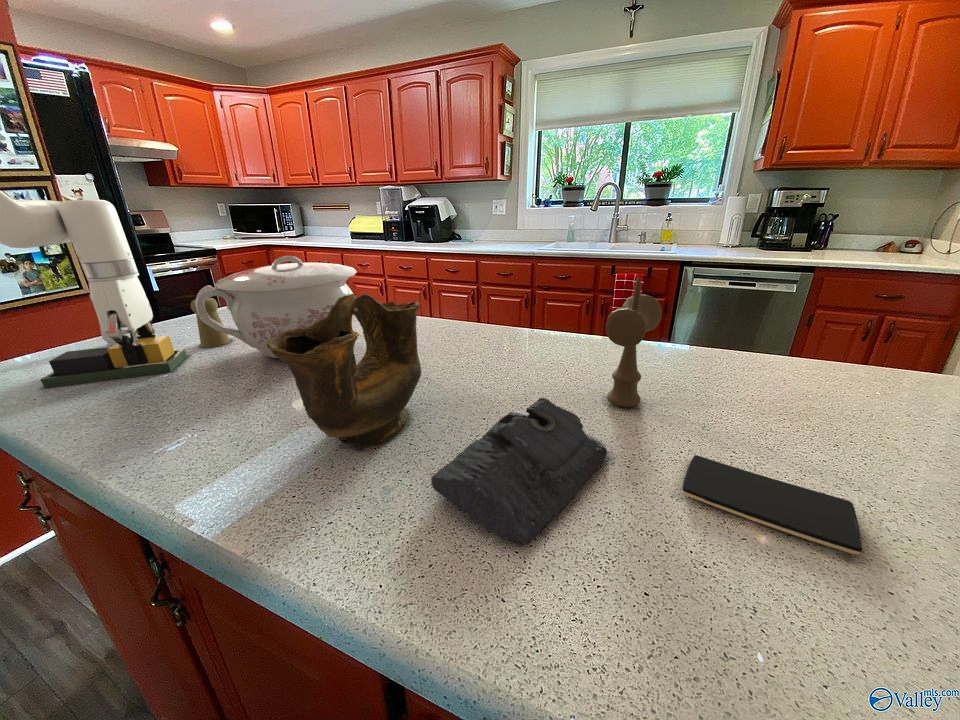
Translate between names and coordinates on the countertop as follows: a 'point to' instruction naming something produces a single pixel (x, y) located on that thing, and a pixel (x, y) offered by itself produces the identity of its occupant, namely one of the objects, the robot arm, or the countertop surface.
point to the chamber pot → (276, 299)
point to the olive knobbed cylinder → (207, 333)
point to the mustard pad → (145, 351)
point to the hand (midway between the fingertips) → (145, 357)
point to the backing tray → (116, 372)
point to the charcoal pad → (82, 362)
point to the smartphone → (775, 503)
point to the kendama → (630, 343)
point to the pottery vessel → (355, 368)
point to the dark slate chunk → (521, 471)
